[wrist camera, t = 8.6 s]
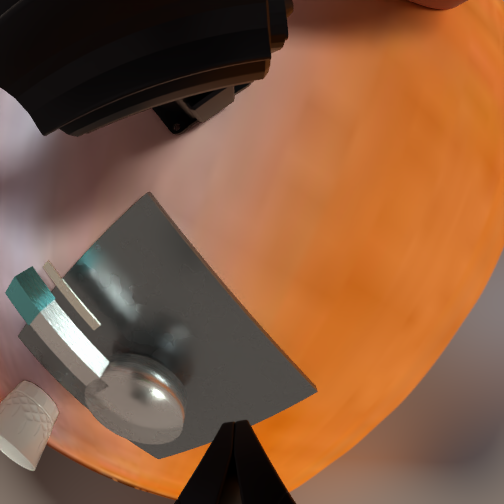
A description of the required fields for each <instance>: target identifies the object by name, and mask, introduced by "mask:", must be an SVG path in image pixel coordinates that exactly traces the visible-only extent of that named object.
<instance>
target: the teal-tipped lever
mask: <svg viewBox="0 0 504 504" xmlns="http://www.w3.org/2000/svg"><path fill="white" fill-rule="evenodd" d="M5 293H6V295H7V296H8V298H9V299H10V301H11V302H12V304H13V305H14V306H15V308H16V309H17V311H18V312H19V313H20V315H21V316H22V317H23V319H24V320H25V321H26V323H27V324H28V325H31V326H32V328H33V329H34V330H35V331H36V333H37V334H38V335H39V336H40V338H41V339H42V340H43V341H44V342H45V343H46V345H47V346H48V347H49V348H50V349H51V350H52V351H53V353H54V354H55V355H56V356H57V357H58V358H59V359H60V360H61V361H62V362H63V363H64V364H65V366H66V367H67V368H68V369H69V370H70V371H71V372H72V373H73V374H74V375H75V376H76V377H77V378H78V379H79V380H80V381H81V382H82V383H84V384H85V385H86V386H87V387H86V389H85V401H86V404H87V406H88V408H89V410H90V412H91V413H92V414H93V416H94V417H95V418H96V419H97V420H98V421H99V422H100V423H101V424H102V425H104V426H105V427H106V428H108V429H109V430H110V431H112V432H114V433H115V434H117V435H119V436H121V437H123V438H126V439H129V440H131V441H135V442H139V443H144V444H164V443H168V442H171V441H173V440H175V439H176V438H177V437H178V436H179V435H180V434H181V432H182V428H183V423H184V417H185V411H186V405H187V393H186V390H185V387H184V385H183V384H182V382H181V381H180V380H179V378H178V377H177V376H176V375H175V374H174V373H173V372H172V371H170V370H169V369H168V368H167V367H165V366H164V365H162V364H160V363H159V362H157V361H155V360H153V359H150V358H148V357H145V356H142V355H138V354H133V353H117V354H113V355H110V356H108V357H106V358H105V357H104V356H103V355H102V354H101V353H100V352H99V351H98V350H97V349H96V347H95V346H94V345H93V344H92V343H91V342H90V341H89V340H88V339H87V338H86V337H85V336H84V334H83V333H82V332H81V331H80V330H79V329H78V328H77V327H76V325H75V324H74V323H73V322H72V321H71V320H70V318H69V317H68V316H67V315H66V314H65V312H64V311H63V310H62V309H61V307H60V306H59V305H58V304H57V302H56V301H55V299H56V298H55V297H54V296H53V294H52V293H51V292H50V290H49V289H48V288H47V286H46V285H45V283H44V282H43V281H42V279H41V278H40V276H39V275H38V274H37V272H36V271H35V269H34V268H33V266H32V267H30V268H28V269H27V270H25V271H23V272H22V273H20V274H18V275H17V276H15V277H14V279H13V280H12V282H11V284H10V285H9V287H8V289H7V290H6V292H5Z"/></svg>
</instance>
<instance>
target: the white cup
mask: <svg viewBox="0 0 504 504" xmlns="http://www.w3.org/2000/svg"><path fill="white" fill-rule="evenodd" d="M58 414H59V411H58V409H57V406H56V404H55V403H54V402H53V400H52V399H51V398H50V396H49V395H47V394H46V393H45V392H44V391H43V390H42V389H41V388H39V387H38V386H36V385H35V384H33V383H32V382H28V381H25V380H24V381H22V382H20V383H19V384H18V385H17V386H16V387H15V389H14V390H13V391H12V392H10V393H9V394H8V395H7V396H6V398H5V399H4V400H3V401H2V402H1V403H0V450H1V451H2V452H3V453H4V454H5V455H6V456H8V457H9V458H10V459H12V460H13V461H14V462H16V463H17V464H19V465H20V466H22V467H24V468H26V469H28V470H31V471H34V470H35V469H36V466H37V464H38V462H39V459H40V457H41V454H42V452H43V450H44V447H45V446H46V443H47V441H48V439H49V436H50V434H51V432H52V429H53V425H54V423H55V421H56V420H57V417H58Z"/></svg>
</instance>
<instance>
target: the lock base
mask: <svg viewBox="0 0 504 504" xmlns="http://www.w3.org/2000/svg"><path fill="white" fill-rule="evenodd" d="M43 268H44V270H45V271H46V272H47V274H48V275H49V276H50V278H51V279H52V281H53V282H54V283H55V285H56V287H55V288H54V289H53V291H52V292H51V293H52V294H53V296H54V297H55V298H56V299H55V301H56V302H57V304H58V305H59V306H60V307H61V309H62V310H63V311H64V312H65V314H66V315H67V316H68V317H69V318H70V320H71V321H72V322H73V323H74V324H75V325H76V327H77V328H78V329H79V330H80V331H81V332H82V333H83V334H84V336H85V337H86V338H87V339H88V340H89V341H90V342H91V343H92V344H93V345H94V346H95V347H96V349H97V350H98V351H99V352H100V353H101V354H102V355H103V356H104V357H105V358H106V357H108V356H110V355H113V354H117V353H133V354H138V355H142V356H145V357H148V358H150V359H153V360H155V361H157V362H159V363H160V364H162V365H164V366H165V367H167V368H168V369H169V370H170V371H172V372H173V373H174V374H175V375H176V376H177V377H178V378H179V380H180V381H181V382H182V384H183V385H184V387H185V390H186V393H187V405H186V411H185V417H184V423H183V428H182V432H181V434H180V435H179V436H178V437H177V438H176V439H175V440H173V441H171V442H168V443H164V444H144V443H139V442H135V441H131V440H129V439H128V440H129V441H131V442H132V443H134V444H135V445H137V446H138V447H140V448H141V449H143V450H144V451H146V452H147V453H149V454H150V455H152V456H154V457H155V458H157V459H161V458H165V457H168V456H171V455H175V454H178V453H181V452H184V451H187V450H190V449H193V448H196V447H199V446H202V445H205V444H207V443H210V442H212V441H213V439H214V438H215V436H216V434H217V432H218V431H219V429H220V427H221V425H222V424H223V423H225V422H232V421H234V422H236V421H239V420H248V421H249V423H250V425H251V426H252V425H254V424H256V423H258V422H260V421H262V420H265V419H267V418H269V417H271V416H273V415H275V414H277V413H279V412H281V411H283V410H285V409H287V408H289V407H291V406H293V405H294V404H296V403H298V402H300V401H302V400H304V399H305V398H307V397H309V396H311V395H313V394H314V393H316V392H318V391H317V388H316V386H315V385H314V384H313V383H312V382H311V381H310V380H309V378H308V377H307V376H306V375H305V374H304V373H303V372H302V371H301V370H300V369H299V368H298V367H297V366H296V364H295V363H294V362H293V361H292V360H291V359H290V358H289V357H288V356H287V355H286V354H285V352H284V351H283V350H282V349H281V348H280V347H279V346H278V345H277V344H276V343H275V341H274V340H273V339H272V338H271V337H270V336H269V335H268V334H267V332H266V331H265V330H264V329H263V328H262V327H261V326H260V325H259V323H258V322H257V321H256V320H255V319H254V318H253V317H252V315H251V314H250V313H249V312H248V311H247V310H246V309H245V307H244V306H243V305H242V304H241V303H240V302H239V300H238V299H237V298H236V297H235V296H234V295H233V293H232V292H231V291H230V290H229V289H228V288H227V286H226V285H225V284H224V283H223V282H222V280H221V279H220V278H219V277H218V276H217V275H216V273H215V272H214V271H213V270H212V269H211V267H210V266H209V265H208V264H207V262H206V261H205V260H204V259H203V258H202V256H201V255H200V254H199V253H198V252H197V250H196V249H195V248H194V247H193V245H192V244H191V243H190V242H189V240H188V239H187V238H186V237H185V235H184V234H183V233H182V232H181V230H180V229H179V228H178V227H177V225H176V224H175V223H174V222H173V220H172V219H171V218H170V217H169V215H168V214H167V213H166V212H165V210H164V209H163V208H162V206H161V205H160V204H159V203H158V201H157V200H156V199H155V197H154V196H153V195H152V193H151V192H148V193H146V194H145V195H144V196H143V197H142V198H141V199H139V200H138V201H137V202H136V203H135V204H134V205H133V206H132V207H131V208H130V209H129V210H128V211H127V212H125V213H124V214H123V215H122V216H121V217H120V218H119V219H118V220H117V221H116V222H115V223H114V224H113V225H112V226H111V227H110V228H109V229H108V230H107V231H106V232H105V233H104V234H103V235H102V236H101V237H100V238H99V239H98V240H97V241H96V242H95V243H94V244H93V245H92V246H91V247H90V249H89V250H88V251H87V252H86V253H85V254H84V255H83V256H82V257H81V258H80V259H79V260H78V262H77V263H76V264H75V265H74V266H73V267H72V268H71V269H70V271H69V272H68V273H67V274H66V275H65V276H64V277H63V279H62V278H61V276H60V275H59V274H58V272H57V271H56V270H55V268H54V267H53V266H52V264H51V263H50V261H49V260H48V261H47V262H46V264H45V265H44V266H43ZM18 337H19V338H20V340H21V341H22V342H23V343H24V344H25V346H26V347H27V348H28V349H29V350H30V352H31V353H32V354H33V355H34V356H35V357H36V359H37V360H38V361H39V362H40V363H41V364H42V365H43V366H44V367H45V368H46V369H47V370H48V372H49V373H50V374H51V375H52V376H53V377H54V378H55V379H56V380H57V381H58V382H59V383H60V384H61V385H62V386H63V387H64V388H65V389H66V390H68V391H69V392H70V393H71V394H72V395H73V396H74V397H75V398H76V399H77V400H78V401H80V402H81V403H82V404H83V405H84V406H85V407H86V408H88V406H87V404H86V401H85V389H86V387H87V386H86V385H85V384H84V383H82V382H81V381H80V380H79V379H78V378H77V377H76V376H75V375H74V374H73V373H72V372H71V371H70V370H69V369H68V368H67V367H66V366H65V364H64V363H63V362H62V361H61V360H60V359H59V358H58V357H57V356H56V355H55V354H54V353H53V351H52V350H51V349H50V348H49V347H48V346H47V345H46V343H45V342H44V341H43V340H42V339H41V338H40V336H39V335H38V334H37V333H36V331H35V330H34V329H33V328H32V326H31V325H28V324H26V325H25V327H24V328H23V330H22V331H21V332H20V334H19V335H18ZM88 409H89V408H88Z"/></svg>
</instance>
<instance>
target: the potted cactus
mask: <svg viewBox="0 0 504 504" xmlns="http://www.w3.org/2000/svg"><path fill="white" fill-rule="evenodd" d="M409 1H411V2H414V3H417V4H420V5H423V6H426V7H430V8H435V9H451V8H454V7H456V6H458V5H460V4H462V3H464V2H466V1H468V0H409Z"/></svg>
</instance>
